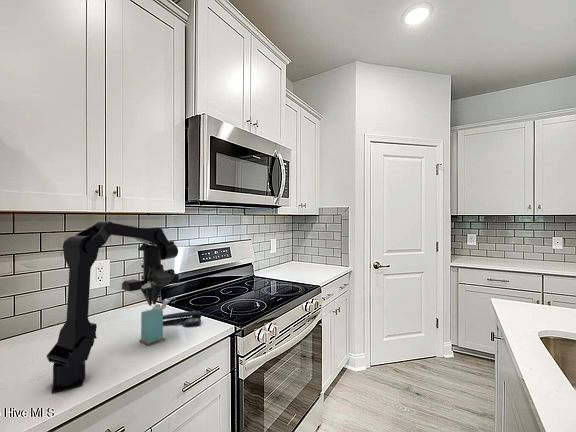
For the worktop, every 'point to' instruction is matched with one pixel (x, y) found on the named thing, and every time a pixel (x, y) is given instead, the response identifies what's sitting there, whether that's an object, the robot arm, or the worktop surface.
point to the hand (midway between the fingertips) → (152, 304)
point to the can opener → (187, 321)
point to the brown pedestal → (150, 343)
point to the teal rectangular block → (151, 325)
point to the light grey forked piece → (162, 305)
